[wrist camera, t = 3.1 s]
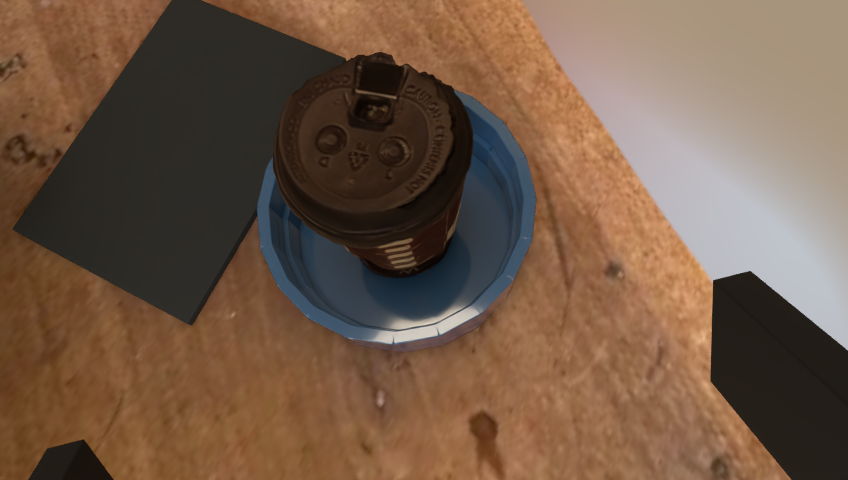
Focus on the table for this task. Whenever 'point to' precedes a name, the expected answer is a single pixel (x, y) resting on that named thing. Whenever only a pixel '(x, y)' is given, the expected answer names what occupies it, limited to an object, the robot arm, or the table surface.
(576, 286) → the table surface
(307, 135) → the coffee cup
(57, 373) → the table surface
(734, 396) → the robot arm
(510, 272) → the bowl
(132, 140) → the mat
